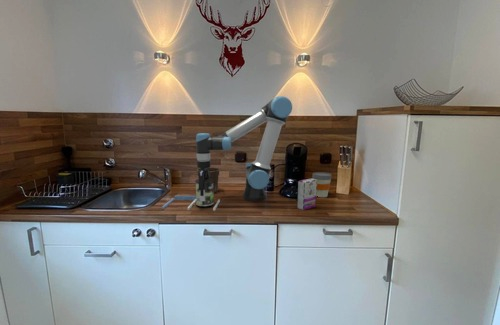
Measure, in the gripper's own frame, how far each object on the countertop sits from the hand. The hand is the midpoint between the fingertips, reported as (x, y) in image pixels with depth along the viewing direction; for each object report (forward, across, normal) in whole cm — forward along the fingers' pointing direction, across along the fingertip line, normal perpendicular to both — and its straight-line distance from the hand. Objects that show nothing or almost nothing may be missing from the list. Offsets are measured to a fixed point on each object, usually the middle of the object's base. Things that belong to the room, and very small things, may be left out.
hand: (204, 198), depth 138 cm
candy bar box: (+6, -2, +59) cm, 60 cm away
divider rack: (+5, 0, -8) cm, 9 cm away
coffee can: (+4, 0, 0) cm, 4 cm away
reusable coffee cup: (+6, -27, +73) cm, 78 cm away
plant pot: (+5, -29, -5) cm, 30 cm away
